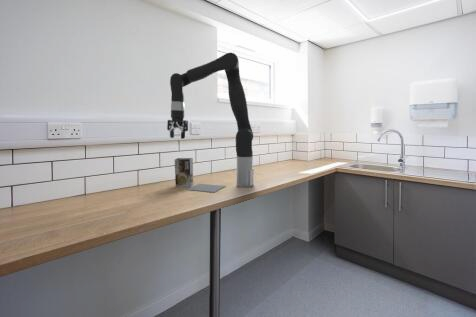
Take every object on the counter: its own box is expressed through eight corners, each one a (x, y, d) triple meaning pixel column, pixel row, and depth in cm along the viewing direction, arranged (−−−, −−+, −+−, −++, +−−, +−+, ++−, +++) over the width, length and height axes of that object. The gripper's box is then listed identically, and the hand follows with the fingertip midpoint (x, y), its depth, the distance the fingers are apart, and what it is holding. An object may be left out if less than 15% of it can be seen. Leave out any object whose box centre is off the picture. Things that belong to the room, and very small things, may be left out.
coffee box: (193, 184, 155) (193, 157, 153) (190, 187, 149) (190, 159, 147) (178, 184, 156) (177, 157, 154) (175, 187, 150) (174, 159, 148)
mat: (226, 186, 151) (226, 185, 151) (214, 192, 137) (214, 192, 137) (199, 184, 158) (199, 183, 157) (185, 189, 144) (185, 189, 144)
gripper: (191, 110, 151) (190, 138, 153) (173, 110, 158) (173, 137, 160) (182, 109, 144) (181, 139, 146) (163, 109, 152) (163, 137, 154)
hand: (177, 138), depth 153 cm, fingers open, 8 cm apart
